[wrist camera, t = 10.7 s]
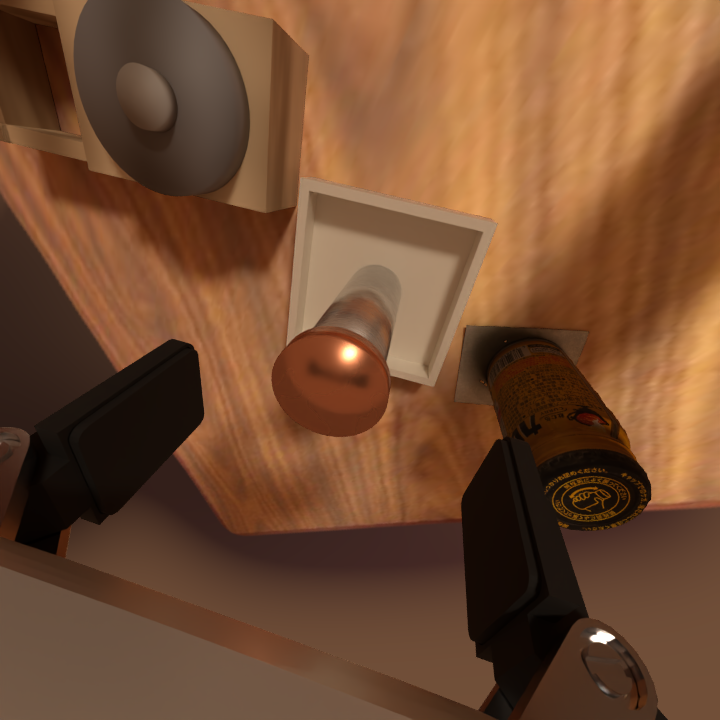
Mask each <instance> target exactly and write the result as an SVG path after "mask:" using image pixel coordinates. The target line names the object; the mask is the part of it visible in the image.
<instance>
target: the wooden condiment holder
mask: <svg viewBox="0 0 720 720" xmlns="http://www.w3.org/2000/svg"><path fill="white" fill-rule="evenodd" d="M35 24H40V25H44V26H49V27H53V28H58V29H59V33H60V38H61V43H62V47H63V52H64V57H65V61H66V66H67V71H68V75H69V80H70V85H71V89H72V94H73V99H74V103H75V108H76V113H77V117H78V122H79V127H80V131H81V136H79V135H75V134H71V133H67V132H62V131H60V127H59V122H58V118H57V114H56V110H55V106H54V102H53V97H52V93H51V89H50V85H49V81H48V77H47V73H46V68H45V64H44V60H43V56H42V52H41V48H40V43H39V39H38V35H37V31H36V27H35ZM308 58H309V55H308V54H307V53H306V52H305V51H304V50H303V49H302V48H301V47H300V46H299V45H298V44H297V43H296V42H295V41H294V40H293V39H292V38H291V37H290V36H289V35H288V34H287V33H286V32H285V31H284V30H283V29H282V28H281V27H280V26H279V25H278V24H277V23H276V22H275V21H274V20H273V19H270V18H265V17H260V16H255V15H250V14H246V13H241V12H236V11H231V10H226V9H221V8H216V7H212V6H207V5H202V4H197V3H192V2H187V1H182V0H0V141H4V142H8V143H12V144H17V145H21V146H25V147H29V148H33V149H37V150H41V151H46V152H50V153H54V154H58V155H62V156H66V157H70V158H75V159H79V160H83V161H87V164H88V169H89V170H90V171H94V172H98V173H102V174H107V175H111V176H115V177H119V178H123V179H127V180H131V181H135V182H138V183H140V184H141V185H143V186H145V187H146V188H149V189H151V190H153V191H155V192H158V193H161V194H164V195H170V196H191V195H193V196H197V197H201V198H205V199H210V200H214V201H218V202H222V203H226V204H230V205H234V206H238V207H243V208H247V209H251V210H255V211H259V212H263V213H268V212H273V211H277V210H282V209H286V208H291V207H295V206H296V205H297V192H298V180H299V168H300V156H301V144H302V132H303V119H304V107H305V95H306V83H307V71H308Z"/></svg>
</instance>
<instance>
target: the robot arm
mask: <svg viewBox="0 0 720 720" xmlns="http://www.w3.org/2000/svg"><path fill="white" fill-rule="evenodd" d="M203 418H204V406H203V397H202V387H201V378H200V368H199V359H198V353H197V351H196V350H194V347H193V345H191V344H189V343H185V342H182V341H179V340H175V339H171V340H168V341H167V342H165V343H164V344H162V345H161V346H159V347H157V348H156V349H154V350H153V351H151V352H150V353H148V354H146V355H145V356H143V357H142V358H140V359H138V360H137V361H135V362H134V363H132V364H131V365H129V366H127V367H126V368H124V369H123V370H121V371H120V372H118V373H116V374H115V375H113V376H112V377H110V378H109V379H107V380H106V381H104V382H102V383H101V384H99V385H98V386H96V387H94V388H93V389H91V390H90V391H88V392H87V393H85V394H83V395H82V396H80V397H79V398H77V399H76V400H74V401H73V402H71V403H69V404H68V405H66V406H65V407H63V408H61V409H60V410H58V411H57V412H55V413H54V414H52V415H50V416H49V417H48V418H46V419H44V420H43V421H41V422H39V423H38V424H36V425H35V426H34V427H35V429H36V431H37V432H35V433H34V434H32V435H31V436H29V435H28V434H27V432H25V431H23V430H21V429H18V428H10V427H7V428H0V720H668V719H667V718H666V717H665V716H664V715H663V714H662V713H661V712H660V710H659V709H658V708H657V703H658V698H657V694H656V690H655V686H654V682H653V680H652V678H651V676H650V674H649V672H648V669H647V667H646V666H645V664H644V663H643V661H642V660H641V658H640V657H639V655H638V654H637V652H636V651H635V650H634V648H633V647H632V646H631V645H630V644H629V643H628V642H627V641H626V640H625V638H624V637H623V636H621V635H620V634H619V633H617V632H616V631H615V630H614V629H613V628H612V627H610V626H608V625H607V624H604V623H603V622H601V621H599V620H596V619H591V618H589V616H588V613H587V610H586V607H585V604H584V601H583V598H582V595H581V592H580V589H579V586H578V583H577V580H576V576H575V573H574V570H573V567H572V564H571V561H570V558H569V555H568V552H567V549H566V546H565V542H564V539H563V536H562V533H561V530H560V527H559V524H558V521H557V518H556V515H555V512H554V509H553V506H552V504H551V502H550V500H549V499H548V498H547V497H546V495H545V492H544V489H543V486H542V482H541V479H540V476H539V473H538V470H537V466H536V463H535V460H534V457H533V454H532V451H531V447H530V445H529V443H528V442H525V441H522V440H519V439H515V438H512V437H508V436H506V437H504V438H503V440H500V439H498V440H496V442H495V443H494V445H493V446H492V448H491V450H490V451H489V453H488V455H487V456H486V458H485V460H484V461H483V463H482V465H481V466H480V468H479V470H478V471H477V473H476V474H475V476H474V478H473V479H472V481H471V483H470V484H469V486H468V488H467V489H466V491H465V493H464V495H463V497H462V503H461V510H462V527H463V544H464V545H463V546H464V563H465V581H466V598H467V617H468V632H469V636H470V639H471V640H472V641H475V643H476V657H478V658H481V659H484V660H486V661H489V662H492V663H493V667H494V677H495V681H496V684H495V686H494V687H493V689H492V690H491V692H490V693H489V695H488V696H487V698H486V699H485V701H484V702H483V704H482V705H481V707H480V708H479V710H475V709H473V708H470V707H468V706H465V705H462V704H460V703H457V702H455V701H452V700H450V699H447V698H444V697H442V696H440V695H437V694H434V693H432V692H429V691H427V690H424V689H422V688H419V687H417V686H414V685H411V684H409V683H406V682H404V681H401V680H399V679H396V678H393V677H390V676H388V675H385V674H382V673H380V672H377V671H374V670H371V669H369V668H366V667H363V666H361V665H358V664H355V663H352V662H350V661H347V660H344V659H342V658H339V657H336V656H333V655H331V654H328V653H325V652H323V651H320V650H317V649H315V648H312V647H309V646H306V645H304V644H301V643H298V642H296V641H293V640H290V639H287V638H285V637H282V636H279V635H276V634H274V633H271V632H268V631H265V630H263V629H260V628H257V627H254V626H251V625H249V624H246V623H243V622H240V621H238V620H235V619H232V618H230V617H227V616H224V615H221V614H218V613H216V612H213V611H210V610H207V609H205V608H202V607H199V606H197V605H194V604H191V603H188V602H186V601H183V600H180V599H177V598H175V597H172V596H169V595H166V594H164V593H161V592H158V591H155V590H152V589H149V588H147V587H144V586H141V585H138V584H136V583H133V582H130V581H127V580H124V579H121V578H119V577H116V576H113V575H110V574H108V573H104V572H102V571H99V570H96V569H94V568H91V567H88V566H85V565H82V564H79V563H77V562H74V561H71V560H68V559H66V558H65V557H66V552H67V547H68V541H69V536H70V530H71V525H72V524H73V523H74V522H75V521H76V520H77V519H78V518H79V517H81V519H84V520H87V521H90V522H93V523H95V524H98V525H100V524H101V523H102V522H103V521H104V520H105V519H106V518H107V517H108V516H109V515H113V514H115V513H116V512H118V511H119V510H120V509H121V508H122V507H123V506H124V505H125V504H126V503H127V501H128V500H129V499H130V498H131V497H132V496H133V495H134V494H135V493H136V492H137V491H138V490H139V489H140V488H141V486H142V485H143V484H144V483H145V482H146V481H147V480H148V479H149V478H150V477H151V476H152V475H153V474H154V473H155V471H157V470H158V468H159V467H160V466H161V465H162V464H163V463H164V462H165V461H166V460H167V459H168V458H169V457H170V456H171V455H172V454H173V452H174V451H175V450H176V449H177V448H178V447H179V446H180V445H181V444H182V443H183V442H184V441H185V440H186V439H187V438H188V437H189V435H190V434H191V433H192V432H193V431H194V430H195V429H196V428H197V427H198V426H199V425H200V423H201V422H202V420H203Z"/></svg>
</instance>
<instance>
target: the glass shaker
mask: <svg viewBox="0 0 720 720" xmlns="http://www.w3.org/2000/svg"><path fill="white" fill-rule="evenodd" d="M401 294H402V289H401V284H400V281H399V279H398V277H397V276H396V275H395V274H394V272H392V271H391V270H390V269H388V268H386V267H384V266H381V265H367V266H364V267H362V268H360V269H359V270H357V271H356V272H355V273H354V275H353V276H352V277H351V279H350V280H349V281H348V283H347V284H346V285H345V286H344V288H343V289H342V290H341V292H340V293H339V294H338V296H337V297H336V298H335V300H334V301H333V302H332V304H331V305H330V306H329V308H328V309H327V310H326V312H325V313H324V314H323V315H322V317H321V318H320V319H319V321H318V322H317V323H316V325H315V326H314V327H313V328H311V329H308V330H306V331H304V332H302V333H300V334H299V335H297V336H296V337H295V338H294V339H292V340H291V341H290V343H289V344H288V345H287V346H286V347H285V349H284V350H283V351H282V352H281V354H280V355H279V356H278V358H277V359H276V361H275V363H274V366H273V370H272V387H273V391H274V394H275V396H276V399H277V401H278V402H279V404H280V406H281V407H282V408H283V410H284V411H285V412H286V413H287V414H288V415H289V416H290V417H291V418H292V419H293V420H294V421H296V422H297V423H298V424H300V425H301V426H303V427H305V428H307V429H309V430H311V431H313V432H316V433H319V434H322V435H326V436H333V437H347V436H353V435H357V434H360V433H362V432H365V431H367V430H368V429H370V428H372V427H373V426H374V425H375V424H377V422H378V421H379V420H380V419H381V417H382V416H383V414H384V412H385V410H386V407H387V403H388V398H389V392H390V386H391V377H390V371H389V367H388V365H387V362H386V361H387V357H388V353H389V348H390V344H391V339H392V335H393V330H394V326H395V322H396V317H397V313H398V308H399V304H400V299H401Z"/></svg>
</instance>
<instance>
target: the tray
mask: <svg viewBox="0 0 720 720" xmlns="http://www.w3.org/2000/svg"><path fill="white" fill-rule="evenodd" d="M497 224H498V223H496V222H495V221H493V220H492V219H489V218H485V217H481V216H477V215H472V214H468V213H464V212H460V211H455V210H451V209H447V208H442V207H438V206H434V205H430V204H425V203H421V202H417V201H413V200H408V199H404V198H400V197H395V196H391V195H387V194H383V193H378V192H374V191H370V190H365V189H361V188H357V187H353V186H348V185H344V184H340V183H336V182H331V181H327V180H323V179H318V178H314V177H301V179H300V191H299V202H298V214H297V226H296V238H295V250H294V261H293V273H292V285H291V297H290V309H289V320H288V332H287V344H286V346H287V345H288V344H289V343H290V341H291V340H292V339H294V338H295V337H296V336H297V335H299V334H300V333H302V332H304V331H306V330H308V329H311V328H313V327H314V326H315V325H316V323H317V322H318V321H319V319H320V318H321V317H322V315H323V314H324V313H325V312H326V310H327V309H328V308H329V306H330V305H331V304H332V302H333V301H334V300H335V298H336V297H337V296H338V294H339V293H340V292H341V290H342V289H343V288H344V286H345V285H346V284H347V283H348V281H349V280H350V279H351V277H352V276H353V275H354V273H355V272H356V271H357V270H359V269H360V268H362V267H364V266H367V265H381V266H384V267H386V268H388V269H390V270H391V271H392V272H394V274H395V275H396V276H397V277H398V279H399V281H400V284H401V289H402V294H401V299H400V304H399V308H398V313H397V317H396V322H395V326H394V330H393V335H392V339H391V344H390V348H389V353H388V357H387V361H386V362H387V365H388V367H389V371H390V375H391V376H394V377H398V378H402V379H405V380H409V381H413V382H417V383H420V384H424V385H428V386H432V387H434V385H435V383H436V380H437V378H438V375H439V373H440V370H441V367H442V365H443V362H444V360H445V357H446V355H447V352H448V350H449V347H450V344H451V342H452V339H453V337H454V334H455V332H456V329H457V327H458V324H459V321H460V319H461V316H462V314H463V311H464V309H465V306H466V303H467V301H468V298H469V296H470V293H471V291H472V288H473V286H474V283H475V280H476V278H477V275H478V273H479V270H480V268H481V265H482V263H483V260H484V257H485V255H486V252H487V250H488V247H489V245H490V242H491V240H492V237H493V234H494V232H495V229H496V227H497Z"/></svg>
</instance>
